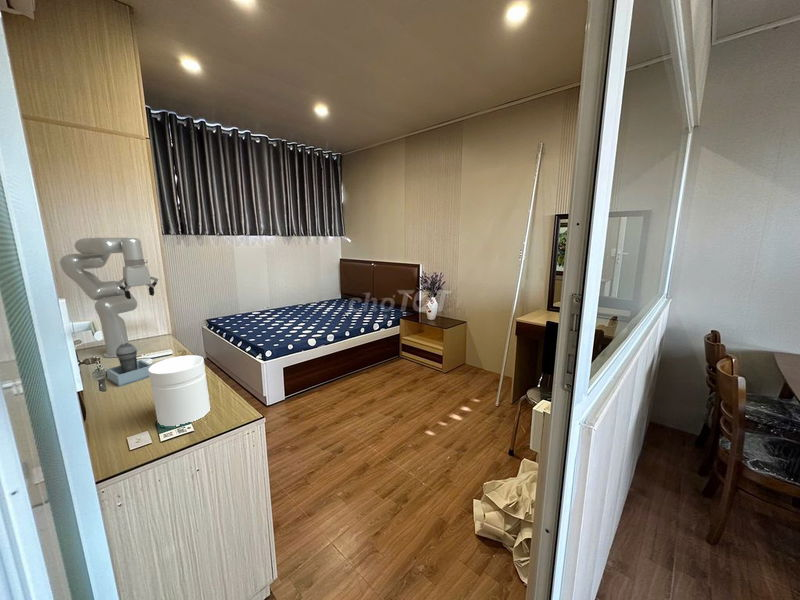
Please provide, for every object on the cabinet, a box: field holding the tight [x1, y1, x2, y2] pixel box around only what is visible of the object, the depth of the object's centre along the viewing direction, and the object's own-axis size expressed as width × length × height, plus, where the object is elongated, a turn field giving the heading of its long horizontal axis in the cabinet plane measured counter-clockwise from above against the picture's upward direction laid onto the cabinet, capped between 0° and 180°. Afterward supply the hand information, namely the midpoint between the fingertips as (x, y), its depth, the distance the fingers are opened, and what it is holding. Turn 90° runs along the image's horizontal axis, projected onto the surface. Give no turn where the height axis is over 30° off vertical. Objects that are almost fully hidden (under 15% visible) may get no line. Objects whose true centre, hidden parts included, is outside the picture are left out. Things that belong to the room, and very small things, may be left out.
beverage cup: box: [116, 334, 138, 373], centre depth 144 cm, size 7×7×20 cm
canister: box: [148, 354, 211, 426], centre depth 113 cm, size 16×16×20 cm
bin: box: [105, 359, 153, 388], centre depth 145 cm, size 13×13×5 cm
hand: (140, 297), depth 161 cm, fingers open, 9 cm apart
